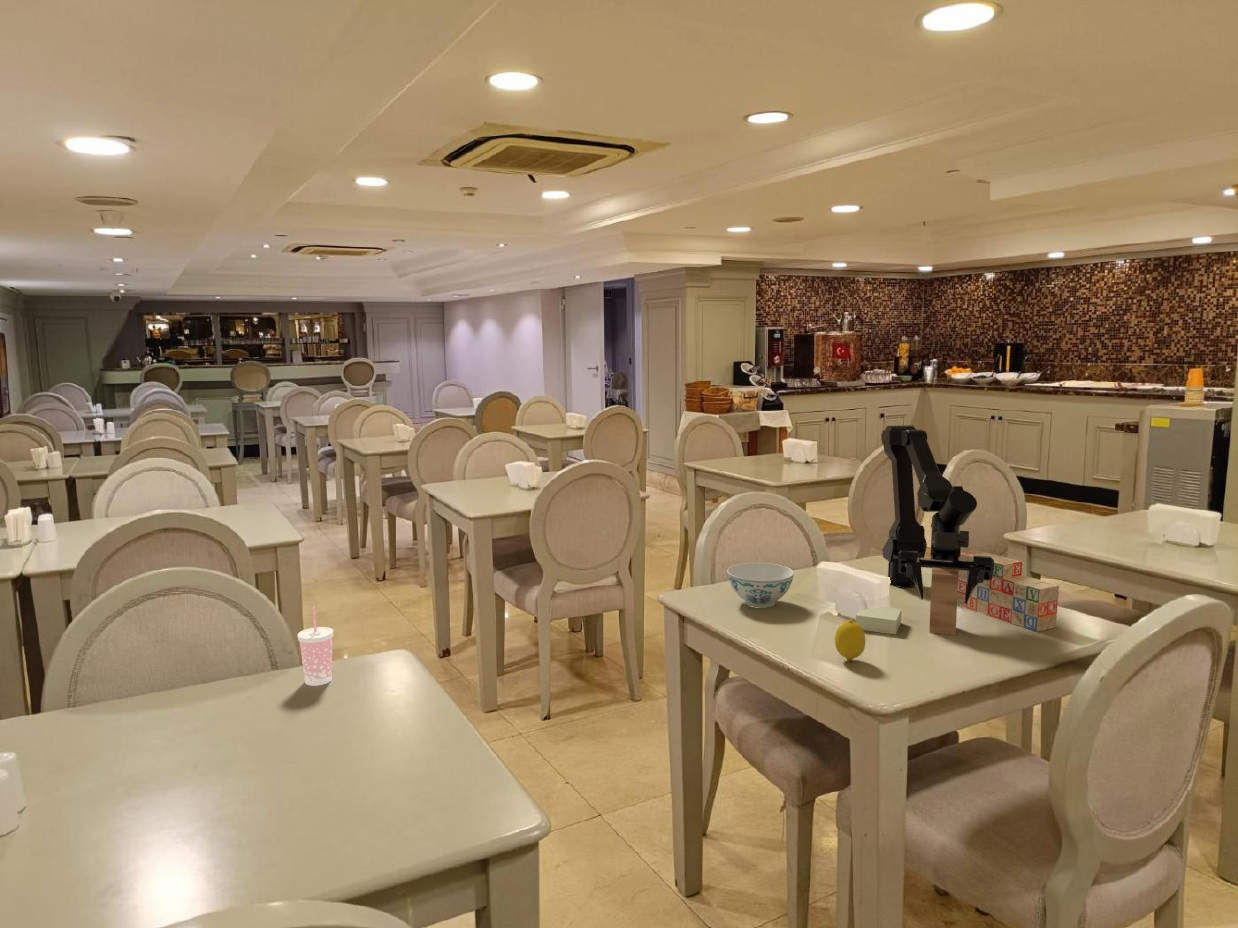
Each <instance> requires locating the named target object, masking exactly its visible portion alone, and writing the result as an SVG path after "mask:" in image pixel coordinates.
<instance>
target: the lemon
mask: <svg viewBox="0 0 1238 928" xmlns="http://www.w3.org/2000/svg"><path fill="white" fill-rule="evenodd" d="M834 644H835V648H836V651H837V652H838V654H839V655H840V656H842V657H843V658H845V659H846V660H847V661H848V662H851V661H853V660H854V659H857V658H858V657H860V656H861V655H862V654H863V652H864V650H865V648H866V647H865V646H866V635H865V630H863V629H862V627H861V626H860V625H859V624H857V623H856V621H854V620H853V619H848V620H847V621H844V622H842V623H841V624H839V625H838V627H837V629H836V632H835V634H834Z"/></svg>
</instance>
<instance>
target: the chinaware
mask: <svg viewBox="0 0 1238 928" xmlns="http://www.w3.org/2000/svg"><path fill="white" fill-rule="evenodd" d="M726 571H727V577H728V581H729V584H730V586H731V588H732V589H733V591H734V592H735V594H737V595H738V596H739V598H741V600H744V604H745V605H746V604H747V606H748V605H749V606H748V607H750V606H753V607H752V608H754V607H760V608H759V609H766V608H765V607H769V608H772V607H774V606H775V605H776V602H778V601H779V600H780V599H782V598H783V596H785V595H786V593H787V592H788V591H789V590H790V587H791V585H792V582H793V579H794V574H795V572H794V570H793V569H791V568H789V567H787V566H784V565H780V564H776V563H766V562H744V563H739V564H735V565H732V566H730V567H728V569H727V570H726ZM774 604H775V605H774ZM773 605H774V606H773ZM771 606H772V607H771Z"/></svg>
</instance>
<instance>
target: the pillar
mask: <svg viewBox="0 0 1238 928" xmlns="http://www.w3.org/2000/svg"><path fill="white" fill-rule="evenodd" d="M958 578H959V575H958V569H946V568H934V567H932V568H931V581H930V582H931V584H930V586H931V587H930V605H929V606H930V609H929V633H932V634H941V635H944V634H945V635H951V636H952V635H953V636H956V632H957V617H958V616H957V615H958V611H957V610H958V605H957V598H958Z"/></svg>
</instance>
